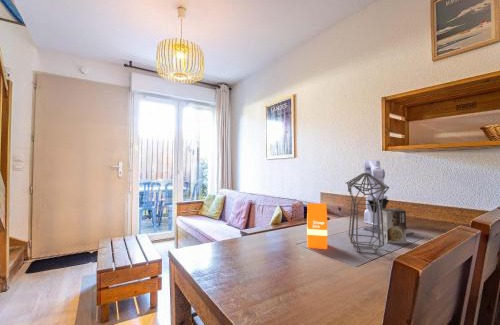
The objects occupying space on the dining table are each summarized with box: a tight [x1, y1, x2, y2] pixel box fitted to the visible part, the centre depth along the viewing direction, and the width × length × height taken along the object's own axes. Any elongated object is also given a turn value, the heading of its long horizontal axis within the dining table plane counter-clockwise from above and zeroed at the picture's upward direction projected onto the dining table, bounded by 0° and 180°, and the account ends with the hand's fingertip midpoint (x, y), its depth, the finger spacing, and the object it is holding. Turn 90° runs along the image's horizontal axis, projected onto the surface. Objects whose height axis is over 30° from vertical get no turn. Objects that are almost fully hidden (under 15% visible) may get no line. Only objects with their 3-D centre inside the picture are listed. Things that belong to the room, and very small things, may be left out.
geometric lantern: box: [345, 172, 390, 255], centre depth 106 cm, size 16×16×35 cm
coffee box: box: [382, 208, 407, 245], centre depth 119 cm, size 9×6×16 cm
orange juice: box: [306, 202, 328, 250], centre depth 113 cm, size 8×9×20 cm
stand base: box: [363, 224, 415, 236], centre depth 137 cm, size 18×18×5 cm
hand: (378, 211), depth 142 cm, fingers open, 7 cm apart
